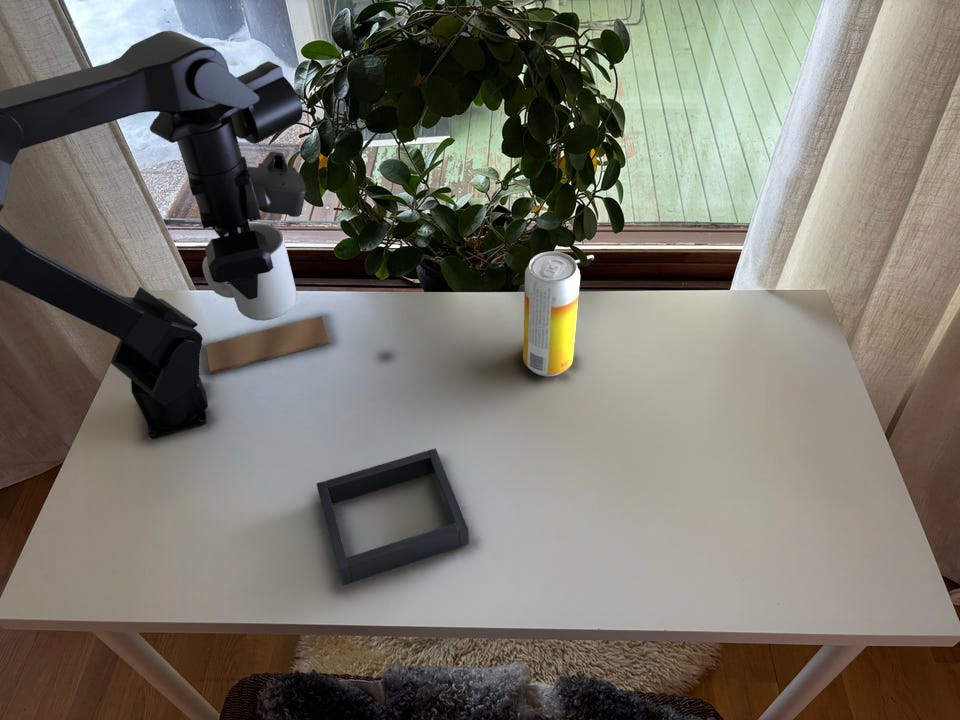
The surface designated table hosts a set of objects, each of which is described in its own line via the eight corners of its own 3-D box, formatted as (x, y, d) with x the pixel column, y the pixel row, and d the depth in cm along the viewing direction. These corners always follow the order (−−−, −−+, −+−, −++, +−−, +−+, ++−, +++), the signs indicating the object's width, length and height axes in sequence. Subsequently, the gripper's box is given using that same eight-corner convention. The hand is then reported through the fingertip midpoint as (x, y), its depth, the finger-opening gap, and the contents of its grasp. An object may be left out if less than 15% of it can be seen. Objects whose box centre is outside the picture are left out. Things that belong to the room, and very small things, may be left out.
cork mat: (210, 374, 97) (209, 371, 96) (206, 347, 100) (205, 344, 100) (330, 343, 100) (329, 340, 100) (322, 318, 103) (321, 315, 103)
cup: (294, 320, 92) (278, 260, 86) (208, 325, 92) (187, 264, 86) (300, 281, 98) (286, 222, 91) (220, 285, 97) (200, 226, 91)
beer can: (579, 352, 98) (588, 257, 87) (562, 385, 94) (569, 289, 83) (534, 339, 100) (537, 244, 89) (515, 370, 96) (516, 275, 85)
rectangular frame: (343, 585, 76) (338, 569, 74) (321, 499, 83) (316, 483, 81) (469, 543, 79) (468, 527, 77) (437, 464, 86) (435, 447, 84)
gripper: (308, 192, 76) (332, 312, 87) (277, 106, 89) (302, 220, 100) (190, 216, 74) (231, 336, 85) (176, 124, 86) (213, 239, 97)
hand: (248, 278), depth 92 cm, fingers closed on cup, 7 cm apart
